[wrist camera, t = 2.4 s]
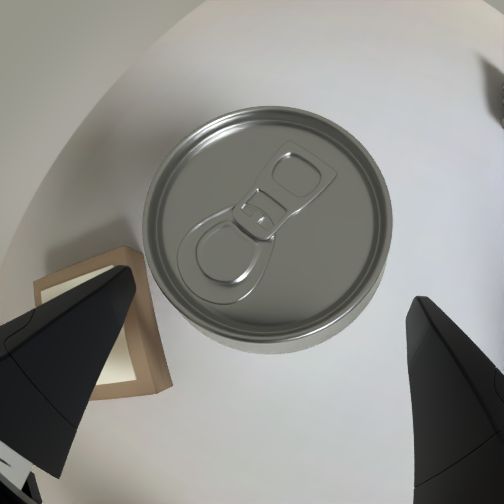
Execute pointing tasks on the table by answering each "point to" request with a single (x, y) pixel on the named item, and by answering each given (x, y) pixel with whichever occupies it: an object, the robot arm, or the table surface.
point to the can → (268, 229)
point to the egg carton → (503, 105)
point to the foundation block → (131, 335)
